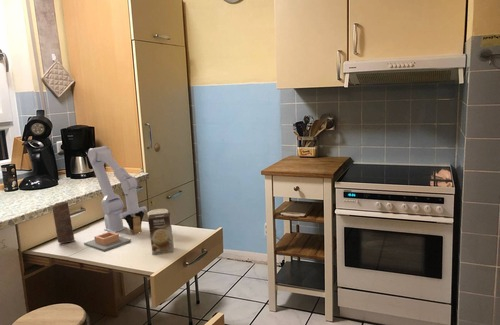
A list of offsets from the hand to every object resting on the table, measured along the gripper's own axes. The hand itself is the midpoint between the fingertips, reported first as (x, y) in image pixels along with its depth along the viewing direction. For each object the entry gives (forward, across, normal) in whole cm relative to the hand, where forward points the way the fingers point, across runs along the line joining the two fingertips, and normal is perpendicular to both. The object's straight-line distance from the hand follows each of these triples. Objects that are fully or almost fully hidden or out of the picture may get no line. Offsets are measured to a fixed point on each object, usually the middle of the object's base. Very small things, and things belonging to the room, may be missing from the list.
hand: (135, 227), depth 208 cm
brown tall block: (+3, -26, +21) cm, 34 cm away
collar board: (+2, -16, -1) cm, 17 cm away
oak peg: (+2, 0, 0) cm, 2 cm away
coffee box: (+3, -10, -35) cm, 37 cm away
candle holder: (+3, +3, -16) cm, 16 cm away
